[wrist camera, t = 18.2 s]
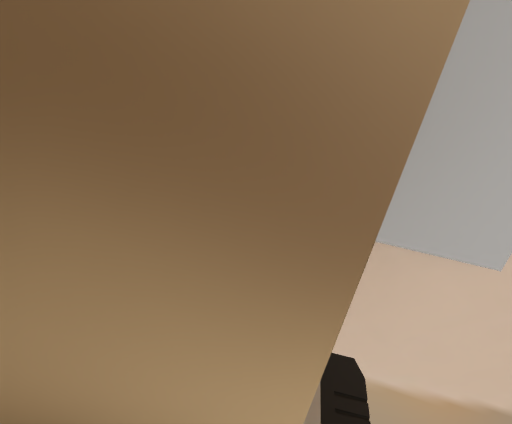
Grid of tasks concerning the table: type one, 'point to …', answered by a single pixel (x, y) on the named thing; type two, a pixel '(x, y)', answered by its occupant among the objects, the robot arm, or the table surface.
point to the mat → (463, 151)
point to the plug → (196, 196)
